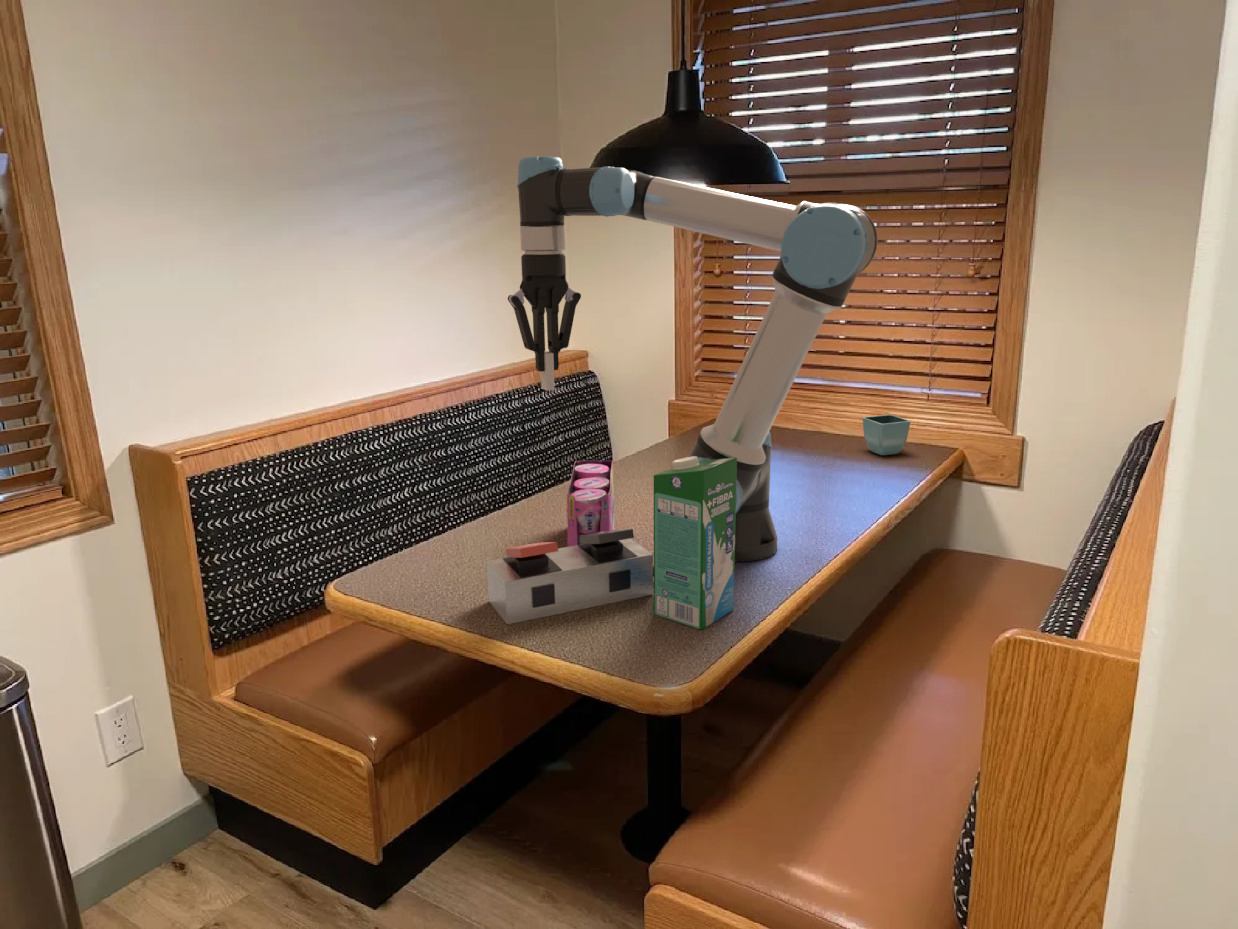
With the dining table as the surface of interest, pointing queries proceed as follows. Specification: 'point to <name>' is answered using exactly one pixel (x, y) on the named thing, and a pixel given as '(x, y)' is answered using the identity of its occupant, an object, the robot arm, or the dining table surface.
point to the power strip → (569, 579)
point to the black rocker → (607, 536)
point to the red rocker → (531, 549)
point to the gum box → (590, 500)
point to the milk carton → (695, 540)
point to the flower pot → (885, 433)
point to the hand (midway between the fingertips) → (548, 388)
